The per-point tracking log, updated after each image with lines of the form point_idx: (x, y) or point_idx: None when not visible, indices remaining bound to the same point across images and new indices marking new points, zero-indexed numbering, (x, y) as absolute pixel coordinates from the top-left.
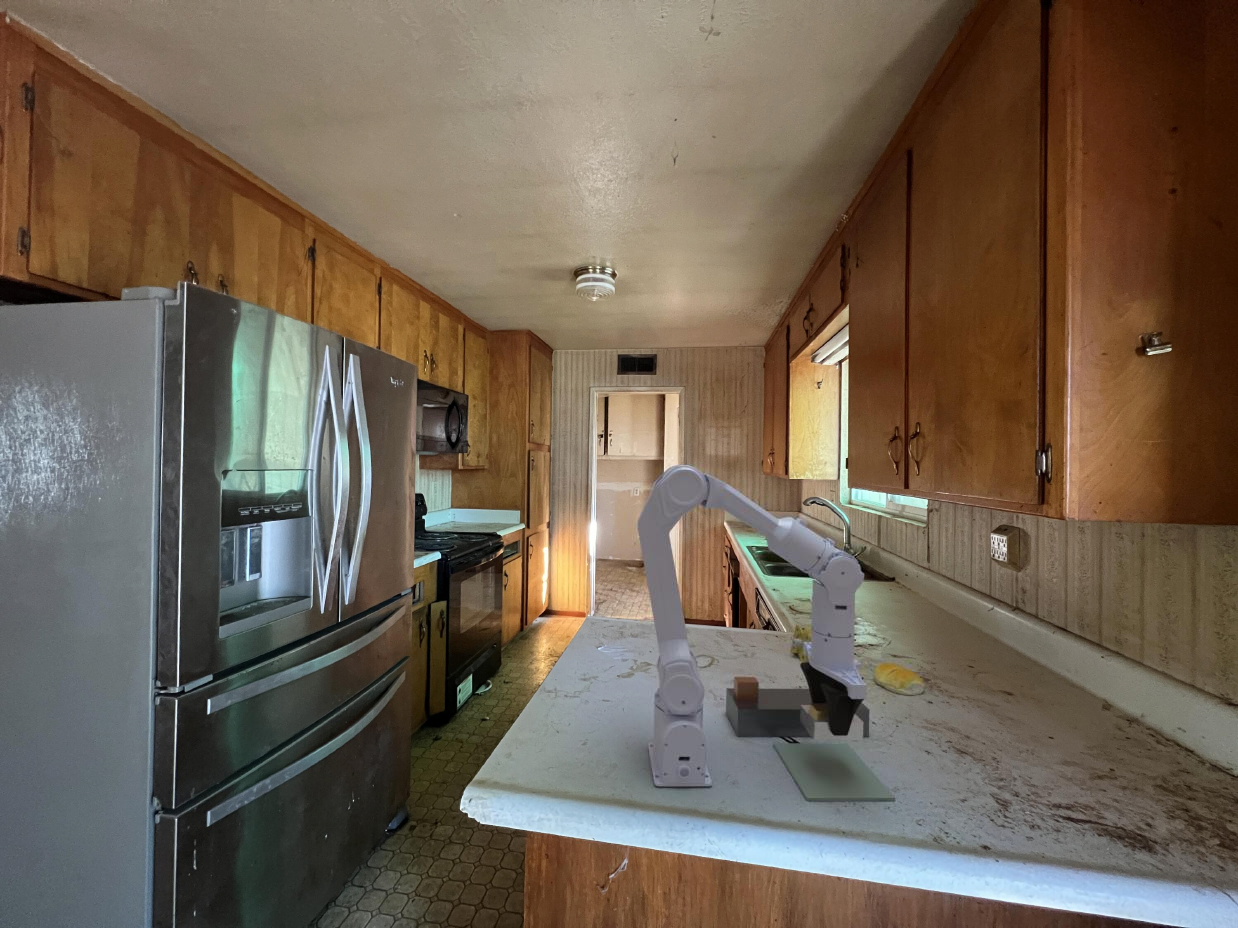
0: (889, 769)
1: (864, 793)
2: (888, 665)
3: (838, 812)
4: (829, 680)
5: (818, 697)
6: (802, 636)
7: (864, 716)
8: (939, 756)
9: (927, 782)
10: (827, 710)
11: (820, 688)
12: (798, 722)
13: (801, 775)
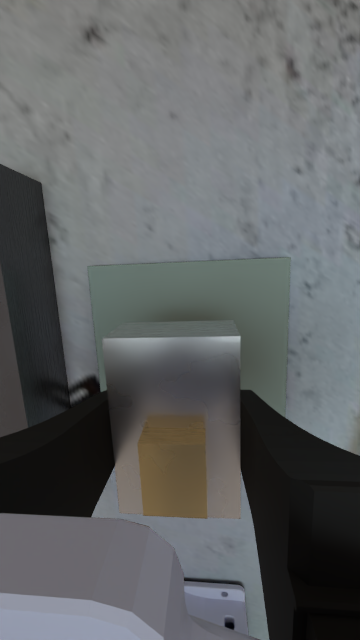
0: (177, 204)
1: (273, 321)
2: None
3: (316, 396)
4: (48, 488)
5: (98, 470)
6: None
7: (3, 182)
8: (110, 7)
9: (224, 128)
10: (199, 475)
11: (77, 494)
12: (47, 385)
13: None
